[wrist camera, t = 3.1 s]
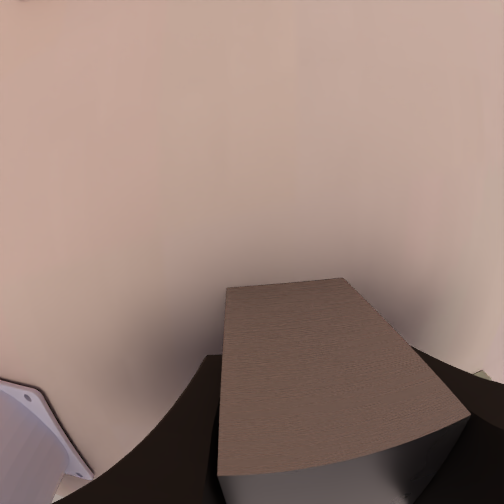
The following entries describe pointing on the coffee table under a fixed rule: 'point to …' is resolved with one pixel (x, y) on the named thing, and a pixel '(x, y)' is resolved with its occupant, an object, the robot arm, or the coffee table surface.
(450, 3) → the coffee table surface
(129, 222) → the coffee table surface
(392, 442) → the grey brown rectangular block
